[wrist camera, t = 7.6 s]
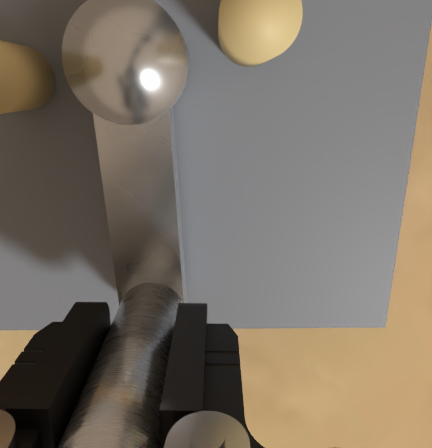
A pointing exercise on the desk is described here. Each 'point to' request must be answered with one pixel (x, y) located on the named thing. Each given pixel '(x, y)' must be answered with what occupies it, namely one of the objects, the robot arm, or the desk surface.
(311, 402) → the desk surface
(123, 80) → the crank
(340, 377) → the desk surface
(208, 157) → the crank base
